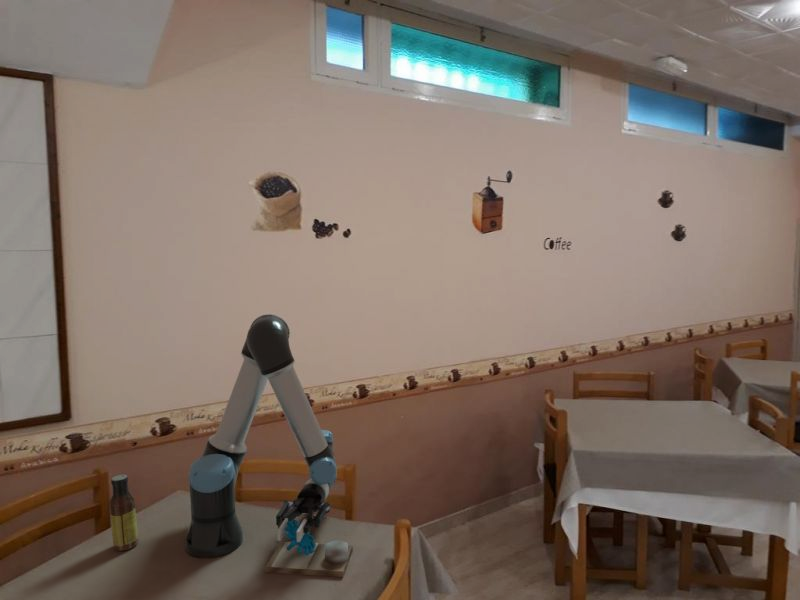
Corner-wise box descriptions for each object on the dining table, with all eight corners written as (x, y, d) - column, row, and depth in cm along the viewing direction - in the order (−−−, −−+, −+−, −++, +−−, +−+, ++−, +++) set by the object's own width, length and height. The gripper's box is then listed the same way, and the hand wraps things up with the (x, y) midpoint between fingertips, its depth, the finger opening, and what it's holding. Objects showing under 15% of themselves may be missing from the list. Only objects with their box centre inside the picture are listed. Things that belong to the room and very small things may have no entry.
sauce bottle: (139, 538, 158) (136, 470, 156) (136, 550, 152) (132, 479, 150) (114, 542, 156) (110, 473, 154) (110, 554, 150) (105, 483, 148)
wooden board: (265, 572, 141) (265, 555, 141) (280, 546, 153) (280, 531, 153) (343, 577, 139) (342, 559, 139) (352, 551, 151) (352, 535, 150)
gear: (307, 557, 139) (282, 525, 141) (291, 572, 140) (267, 540, 142) (324, 541, 150) (300, 511, 152) (309, 555, 151) (286, 525, 153)
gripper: (342, 508, 163) (322, 552, 140) (284, 506, 165) (255, 548, 142) (342, 484, 162) (321, 523, 139) (284, 481, 164) (254, 520, 141)
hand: (288, 536), depth 140 cm, fingers closed on gear, 4 cm apart
